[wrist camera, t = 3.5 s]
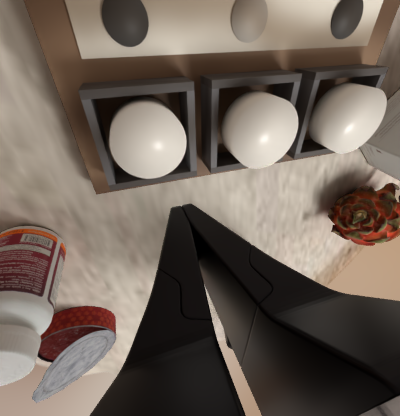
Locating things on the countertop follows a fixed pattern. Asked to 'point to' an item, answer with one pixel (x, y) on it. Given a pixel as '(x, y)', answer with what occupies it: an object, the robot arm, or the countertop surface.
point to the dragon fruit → (367, 215)
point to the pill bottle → (26, 295)
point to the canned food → (74, 346)
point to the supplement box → (386, 141)
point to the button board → (202, 67)
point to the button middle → (259, 128)
